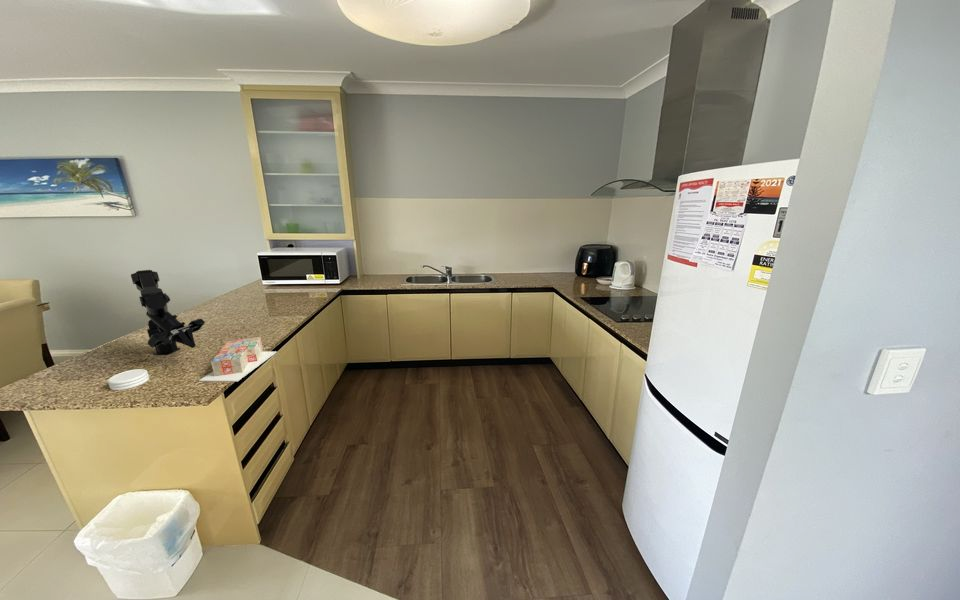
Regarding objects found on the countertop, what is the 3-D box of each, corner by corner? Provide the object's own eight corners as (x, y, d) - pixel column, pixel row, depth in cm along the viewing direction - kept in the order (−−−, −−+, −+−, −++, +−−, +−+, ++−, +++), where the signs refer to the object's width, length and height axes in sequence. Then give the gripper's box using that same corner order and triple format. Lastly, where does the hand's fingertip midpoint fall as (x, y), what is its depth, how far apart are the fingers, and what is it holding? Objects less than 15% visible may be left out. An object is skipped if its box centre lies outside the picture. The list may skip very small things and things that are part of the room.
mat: (199, 381, 120) (198, 380, 119) (244, 352, 144) (244, 351, 143) (237, 381, 120) (237, 380, 120) (276, 352, 144) (276, 351, 144)
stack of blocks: (213, 376, 122) (252, 371, 127) (210, 362, 120) (249, 356, 125) (230, 353, 141) (263, 349, 146) (227, 340, 139) (261, 336, 144)
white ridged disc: (142, 374, 124) (140, 366, 123) (155, 380, 120) (152, 372, 119) (105, 386, 115) (102, 378, 114) (117, 393, 111) (114, 385, 110)
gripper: (179, 323, 139) (207, 348, 141) (128, 340, 121) (160, 369, 123) (191, 307, 136) (219, 333, 137) (140, 322, 118) (173, 352, 120)
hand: (194, 347), depth 129 cm, fingers closed
